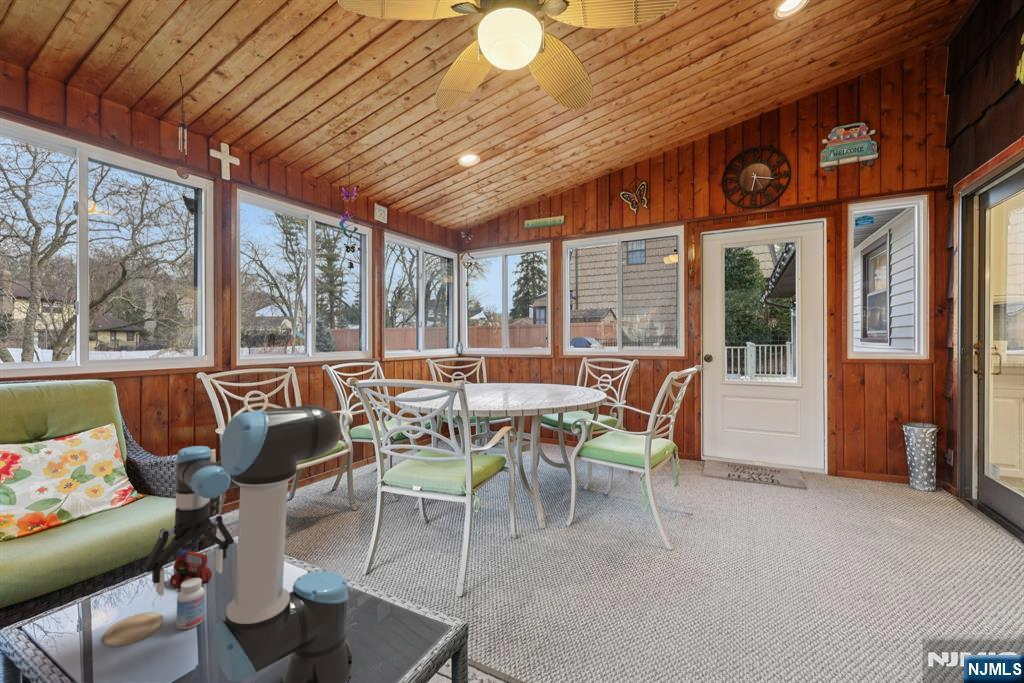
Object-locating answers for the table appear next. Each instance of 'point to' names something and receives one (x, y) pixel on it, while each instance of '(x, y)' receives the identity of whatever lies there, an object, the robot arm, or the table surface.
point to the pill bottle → (190, 604)
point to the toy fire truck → (190, 568)
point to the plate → (133, 629)
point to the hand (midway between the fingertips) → (190, 581)
